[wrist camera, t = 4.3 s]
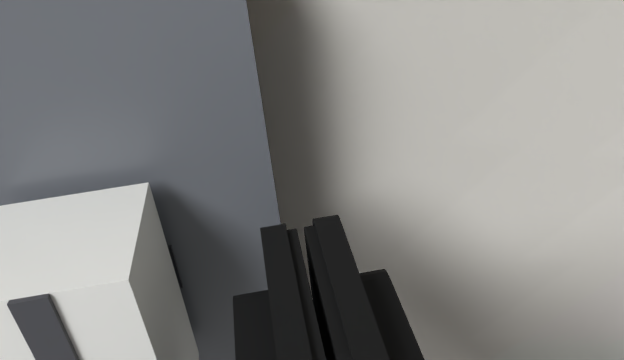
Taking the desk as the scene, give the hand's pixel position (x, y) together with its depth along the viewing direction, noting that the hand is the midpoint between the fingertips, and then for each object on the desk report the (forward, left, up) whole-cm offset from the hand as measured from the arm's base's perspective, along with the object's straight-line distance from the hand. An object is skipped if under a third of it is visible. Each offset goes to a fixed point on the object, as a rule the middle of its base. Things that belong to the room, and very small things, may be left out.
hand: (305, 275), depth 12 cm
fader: (+4, 0, -1) cm, 4 cm away
